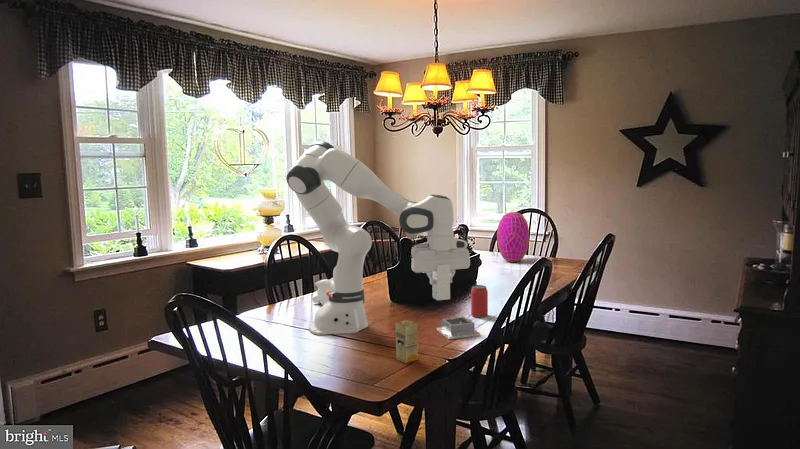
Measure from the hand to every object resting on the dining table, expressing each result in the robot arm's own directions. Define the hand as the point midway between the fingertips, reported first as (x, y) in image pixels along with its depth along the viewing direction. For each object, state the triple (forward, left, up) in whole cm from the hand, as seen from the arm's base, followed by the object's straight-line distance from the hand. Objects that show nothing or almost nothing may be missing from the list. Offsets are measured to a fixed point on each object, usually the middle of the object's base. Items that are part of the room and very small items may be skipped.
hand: (441, 283), depth 191 cm
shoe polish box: (-16, -10, -21) cm, 28 cm away
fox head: (-26, +67, -21) cm, 75 cm away
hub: (+10, +9, -21) cm, 25 cm away
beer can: (+27, +26, -21) cm, 43 cm away
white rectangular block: (0, 0, -5) cm, 5 cm away
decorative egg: (+98, +125, -21) cm, 160 cm away
